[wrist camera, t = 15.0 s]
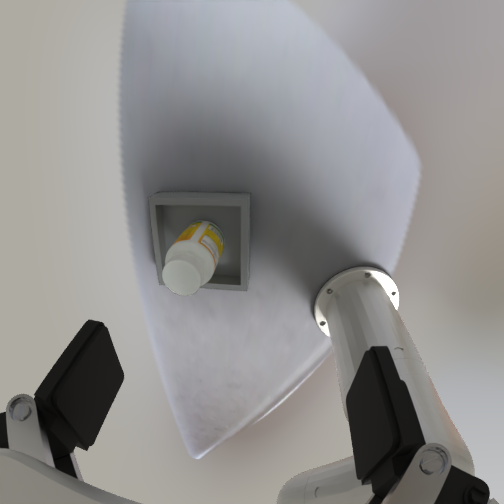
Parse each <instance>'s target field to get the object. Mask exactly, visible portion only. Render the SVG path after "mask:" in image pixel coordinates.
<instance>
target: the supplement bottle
mask: <svg viewBox="0 0 504 504" xmlns="http://www.w3.org/2000/svg"><path fill="white" fill-rule="evenodd" d="M224 245H225V239H224V235H223V233H222V231H221V230H220V229H219V227H218V226H216V225H215V224H213V223H212V222H209V221H196V222H194V223H192V224H190V225H189V226H188V227H187V228H186V229H185V230H184V231H183V233H182V234H181V235H180V236H179V238H178V239H177V240H176V241H175V242H174V244H173V245H172V246H171V247H170V249H169V250H168V252H167V254H166V258H165V266H164V268H163V271H162V278H163V281H164V283H165V285H166V286H167V288H168V289H169V290H171V291H172V292H174V293H175V294H178V295H182V296H188V295H192V294H194V293H195V292H197V291H198V289H199V288H200V286H202V285H204V284H205V283H207V282H208V281H209V280H210V279H211V277H212V275H213V273H214V271H215V269H216V266H217V264H218V261H219V259H220V256H221V254H222V252H223V249H224Z"/></svg>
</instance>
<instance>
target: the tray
mask: <svg viewBox="0 0 504 504" xmlns="http://www.w3.org/2000/svg"><path fill="white" fill-rule="evenodd" d="M148 200H149V210H150V220H151V229H152V238H153V246H154V253H155V260H156V267H157V274H158V280H159V285H165V283H164V281H163V278H162V271H163V268H164V266H165V258H166V254H167V252H168V250H169V249H170V247H171V246H172V245H173V244H174V242H175V241H176V240H177V239H178V238H179V236H180V235H181V234H182V233H183V231H184V230H185V229H186V228H187V227H188V226H189V225H190V224H192V223H194V222H196V221H209V222H212V223H213V224H215V225H216V226H218V227H219V229H220V230H221V231H222V233H223V235H224V239H225V245H224V249H223V252H222V254H221V256H220V259H219V261H218V264H217V266H216V269H215V271H214V273H213V275H212V277H211V279H210V280H209V281H208V282H207V283H205V284H204V285H202V286H200V288H206V289H220V290H236V291H247V289H248V283H249V258H250V200H251V193H235V192H157V193H156V194H154V195H153V196H151V197H150V198H148Z"/></svg>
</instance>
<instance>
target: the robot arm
mask: <svg viewBox="0 0 504 504" xmlns="http://www.w3.org/2000/svg"><path fill="white" fill-rule="evenodd" d="M366 272H367V273H366ZM398 302H399V293H398V290H397V286H396V285H395V283H394V281H393V280H392V279H391V277H390V276H389V275H388V274H386V273H385V272H384V271H382V270H380V269H377V268H373V267H355V268H351V269H348V270H345V271H342V272H341V273H339V274H337V275H335V276H334V277H333V278H331V279H330V280H329V281H328V282H327V283H326V284H325V285H324V286H323V287H322V289H321V290H320V292H319V293H318V295H317V298H316V300H315V305H314V314H315V319H316V323H317V325H318V327H319V328H320V329H321V331H322V332H323V333H324V334H326V335H327V336H329V337H330V338H331V343H332V348H333V353H334V359H335V364H336V369H337V375H338V380H339V386H340V392H341V397H342V403H343V409H344V413H345V416H346V418H347V420H348V422H349V426H350V432H351V440H352V447H353V454H354V455H353V456H351V457H348V458H345V459H342V460H339V461H336V462H333V463H330V464H327V465H324V466H320V467H317V468H314V469H311V470H308V471H305V472H302V473H300V474H298V475H296V476H294V477H293V478H291V479H290V480H289V481H287V482H286V483H285V485H284V486H283V487H282V489H281V490H280V493H279V495H278V499H277V504H499V503H498V502H497V501H496V500H495V499H494V498H493V499H491V500H490V499H489V495H490V492H489V487H488V485H487V484H486V483H485V482H484V481H482V480H481V479H479V478H477V477H475V476H474V464H473V460H472V457H471V454H470V452H469V450H468V448H467V446H466V444H465V442H464V440H463V439H462V437H461V435H460V434H459V432H458V430H457V429H456V427H455V425H454V424H453V422H452V420H451V419H450V417H449V415H448V413H447V411H446V409H445V407H444V406H443V404H442V402H441V400H440V398H439V396H438V393H437V391H436V389H435V387H434V385H433V383H432V381H431V378H430V376H429V374H428V372H427V370H426V367H425V366H424V364H423V362H422V359H421V357H420V355H419V353H418V351H417V349H416V347H415V345H414V343H413V340H412V338H411V337H410V334H409V332H408V330H407V329H406V327H405V325H404V323H403V321H402V319H401V317H400V315H399V313H398V311H397V307H398ZM123 380H124V373H123V370H122V367H121V365H120V362H119V360H118V357H117V354H116V352H115V349H114V346H113V343H112V340H111V337H110V334H109V331H108V328H107V327H105V325H104V323H102V322H99V321H94V320H88V321H87V322H86V323H85V324H84V325H83V327H82V328H81V329H80V331H79V332H78V333H77V335H76V336H75V337H74V339H73V340H72V341H71V342H70V344H69V345H68V346H67V348H66V349H65V350H64V352H63V353H62V355H61V356H60V358H59V359H58V360H57V362H56V363H55V364H54V366H53V367H52V369H51V370H50V372H49V373H48V375H47V376H46V377H45V379H44V380H43V382H42V383H41V385H40V386H39V388H38V389H37V391H36V392H35V394H34V395H35V398H34V399H33V398H32V397H31V396H29V395H27V394H19V395H16V396H14V397H13V398H12V399H11V400H10V401H9V402H8V405H7V407H6V412H3V413H0V504H141V503H138V502H135V501H132V500H129V499H126V498H123V497H120V496H117V495H114V494H112V493H109V492H106V491H104V490H101V489H99V488H96V487H94V486H92V485H89V484H87V483H85V482H84V481H83V479H82V475H81V473H80V470H79V467H78V464H77V461H76V458H75V455H74V449H75V446H77V447H79V448H81V449H83V450H86V451H87V450H88V448H89V446H92V445H93V444H94V442H95V440H96V437H97V435H98V433H99V431H100V428H101V427H102V424H103V422H104V420H105V418H106V415H107V414H108V411H109V409H110V407H111V405H112V403H113V401H114V399H115V397H116V395H117V393H118V391H119V389H120V387H121V385H122V383H123Z"/></svg>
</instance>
